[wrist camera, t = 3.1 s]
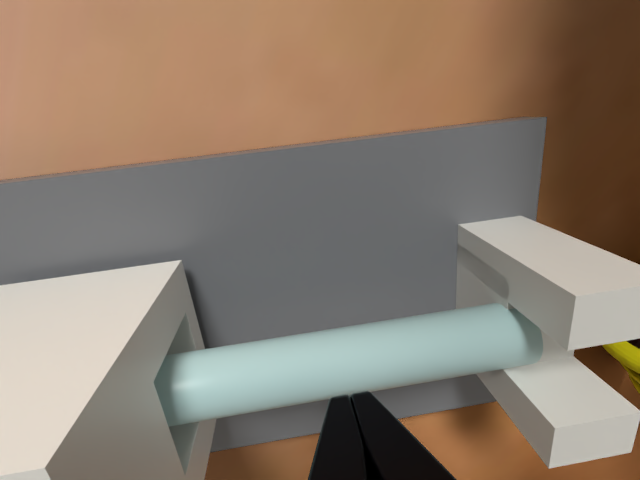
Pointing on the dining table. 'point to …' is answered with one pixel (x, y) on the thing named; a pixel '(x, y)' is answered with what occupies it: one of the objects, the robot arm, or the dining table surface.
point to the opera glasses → (627, 358)
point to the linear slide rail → (355, 281)
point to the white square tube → (96, 377)
